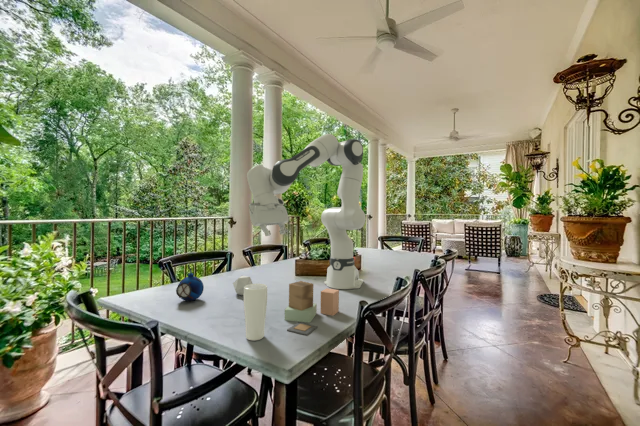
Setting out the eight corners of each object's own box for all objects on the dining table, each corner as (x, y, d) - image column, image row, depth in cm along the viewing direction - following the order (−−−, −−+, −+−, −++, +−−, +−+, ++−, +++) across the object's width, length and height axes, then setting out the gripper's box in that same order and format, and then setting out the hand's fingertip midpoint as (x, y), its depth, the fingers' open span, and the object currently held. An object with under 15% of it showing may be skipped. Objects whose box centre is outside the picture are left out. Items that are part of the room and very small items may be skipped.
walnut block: (300, 302, 108) (300, 280, 108) (313, 306, 104) (313, 283, 104) (288, 306, 103) (289, 283, 103) (301, 310, 99) (301, 287, 99)
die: (257, 295, 131) (254, 275, 136) (250, 290, 123) (246, 269, 128) (240, 301, 131) (237, 281, 136) (231, 296, 124) (228, 275, 129)
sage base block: (292, 312, 109) (292, 301, 109) (316, 314, 107) (316, 303, 107) (284, 321, 100) (284, 309, 100) (310, 323, 98) (310, 311, 98)
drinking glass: (270, 338, 85) (271, 287, 85) (248, 344, 81) (249, 290, 81) (261, 330, 91) (261, 282, 91) (239, 336, 87) (240, 285, 87)
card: (298, 323, 97) (298, 321, 97) (317, 327, 94) (317, 325, 94) (286, 330, 91) (287, 328, 91) (306, 335, 88) (306, 333, 88)
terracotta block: (326, 309, 112) (326, 288, 112) (338, 311, 109) (338, 290, 109) (320, 313, 107) (320, 291, 107) (333, 315, 105) (333, 293, 105)
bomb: (170, 304, 114) (170, 266, 114) (185, 296, 125) (185, 261, 125) (195, 305, 113) (195, 266, 113) (207, 297, 124) (207, 261, 124)
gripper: (253, 199, 111) (264, 234, 109) (285, 200, 129) (295, 230, 126) (242, 205, 114) (252, 239, 112) (275, 206, 132) (284, 235, 129)
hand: (275, 234), depth 119 cm, fingers open, 8 cm apart
